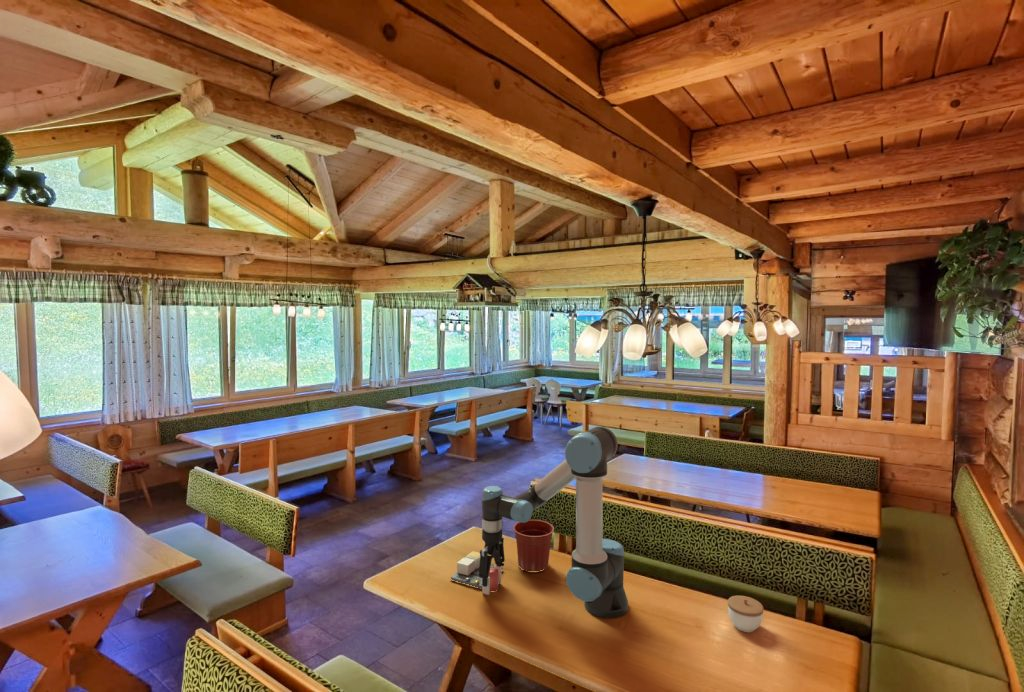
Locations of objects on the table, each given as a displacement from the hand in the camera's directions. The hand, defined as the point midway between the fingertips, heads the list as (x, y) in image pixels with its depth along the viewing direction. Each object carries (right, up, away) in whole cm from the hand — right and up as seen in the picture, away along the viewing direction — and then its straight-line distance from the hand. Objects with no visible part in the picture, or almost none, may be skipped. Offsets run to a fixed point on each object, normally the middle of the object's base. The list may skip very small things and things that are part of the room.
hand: (491, 588), depth 194 cm
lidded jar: (+84, -2, -23) cm, 87 cm away
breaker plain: (-11, +2, +9) cm, 14 cm away
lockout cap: (0, 0, 0) cm, 0 cm away
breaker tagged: (-7, +3, +15) cm, 17 cm away
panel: (-6, 0, +9) cm, 11 cm away
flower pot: (+16, +1, +17) cm, 24 cm away
